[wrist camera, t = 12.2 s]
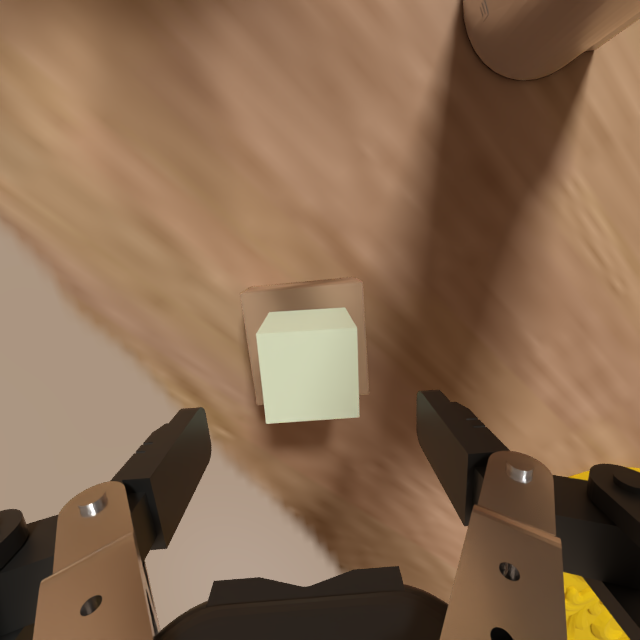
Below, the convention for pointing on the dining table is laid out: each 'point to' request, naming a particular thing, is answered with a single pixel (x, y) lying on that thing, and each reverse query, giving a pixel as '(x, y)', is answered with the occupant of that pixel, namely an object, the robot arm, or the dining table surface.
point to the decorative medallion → (588, 606)
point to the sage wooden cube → (309, 365)
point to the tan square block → (304, 298)
